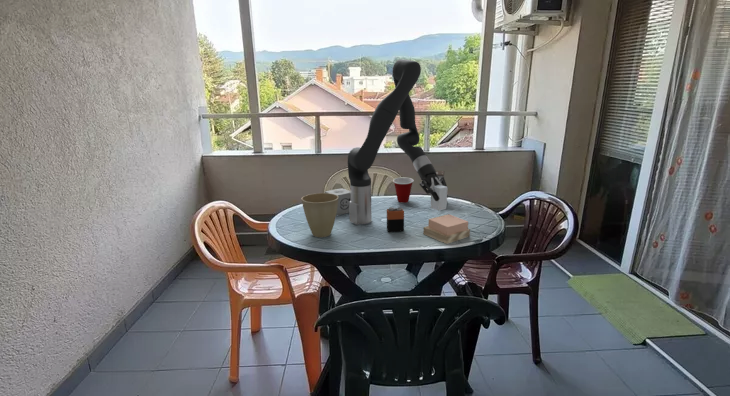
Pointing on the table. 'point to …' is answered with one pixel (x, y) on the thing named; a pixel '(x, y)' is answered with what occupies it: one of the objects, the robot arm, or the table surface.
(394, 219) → the battery
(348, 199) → the icon cube
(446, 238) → the birch slab
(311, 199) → the plant pot
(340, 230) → the table surface
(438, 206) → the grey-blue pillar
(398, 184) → the plastic cup
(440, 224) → the terracotta slab
